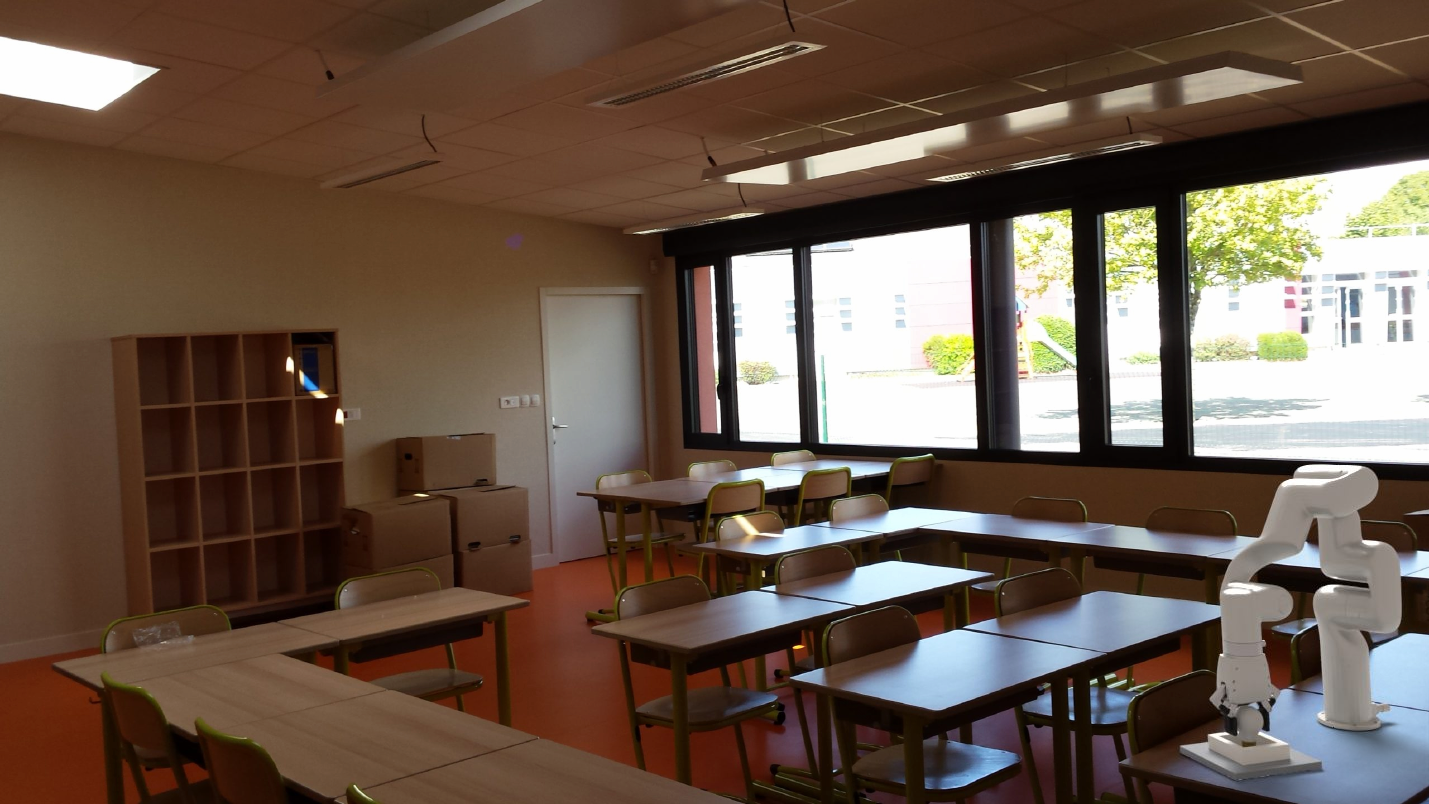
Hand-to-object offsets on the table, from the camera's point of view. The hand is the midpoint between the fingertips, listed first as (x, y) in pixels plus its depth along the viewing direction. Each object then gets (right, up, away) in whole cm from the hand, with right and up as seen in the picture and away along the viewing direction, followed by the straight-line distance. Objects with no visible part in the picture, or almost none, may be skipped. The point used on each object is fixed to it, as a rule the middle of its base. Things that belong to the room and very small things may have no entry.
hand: (1247, 731), depth 224 cm
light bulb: (0, -5, 0) cm, 5 cm away
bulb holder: (0, -6, 0) cm, 6 cm away
